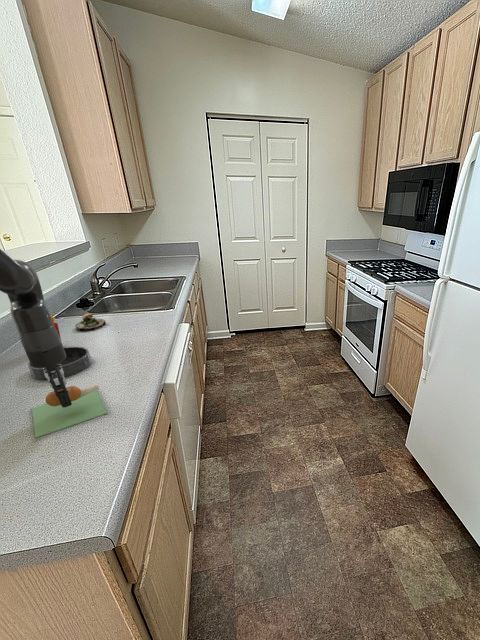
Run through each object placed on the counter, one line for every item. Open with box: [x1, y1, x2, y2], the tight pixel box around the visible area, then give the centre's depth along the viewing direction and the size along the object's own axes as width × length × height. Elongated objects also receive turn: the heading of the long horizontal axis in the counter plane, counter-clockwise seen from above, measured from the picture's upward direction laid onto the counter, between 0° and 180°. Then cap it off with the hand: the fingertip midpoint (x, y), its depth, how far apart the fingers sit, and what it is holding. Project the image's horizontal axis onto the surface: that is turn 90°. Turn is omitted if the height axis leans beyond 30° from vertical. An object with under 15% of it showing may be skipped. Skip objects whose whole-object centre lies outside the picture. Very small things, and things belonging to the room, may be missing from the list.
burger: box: [75, 313, 107, 332], centre depth 148 cm, size 12×12×8 cm
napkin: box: [31, 390, 108, 439], centre depth 91 cm, size 16×16×1 cm
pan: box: [27, 346, 93, 381], centre depth 113 cm, size 17×17×4 cm
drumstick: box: [45, 383, 100, 406], centre depth 90 cm, size 12×4×4 cm, turn 127°
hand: (66, 401), depth 89 cm, fingers closed on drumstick, 4 cm apart
